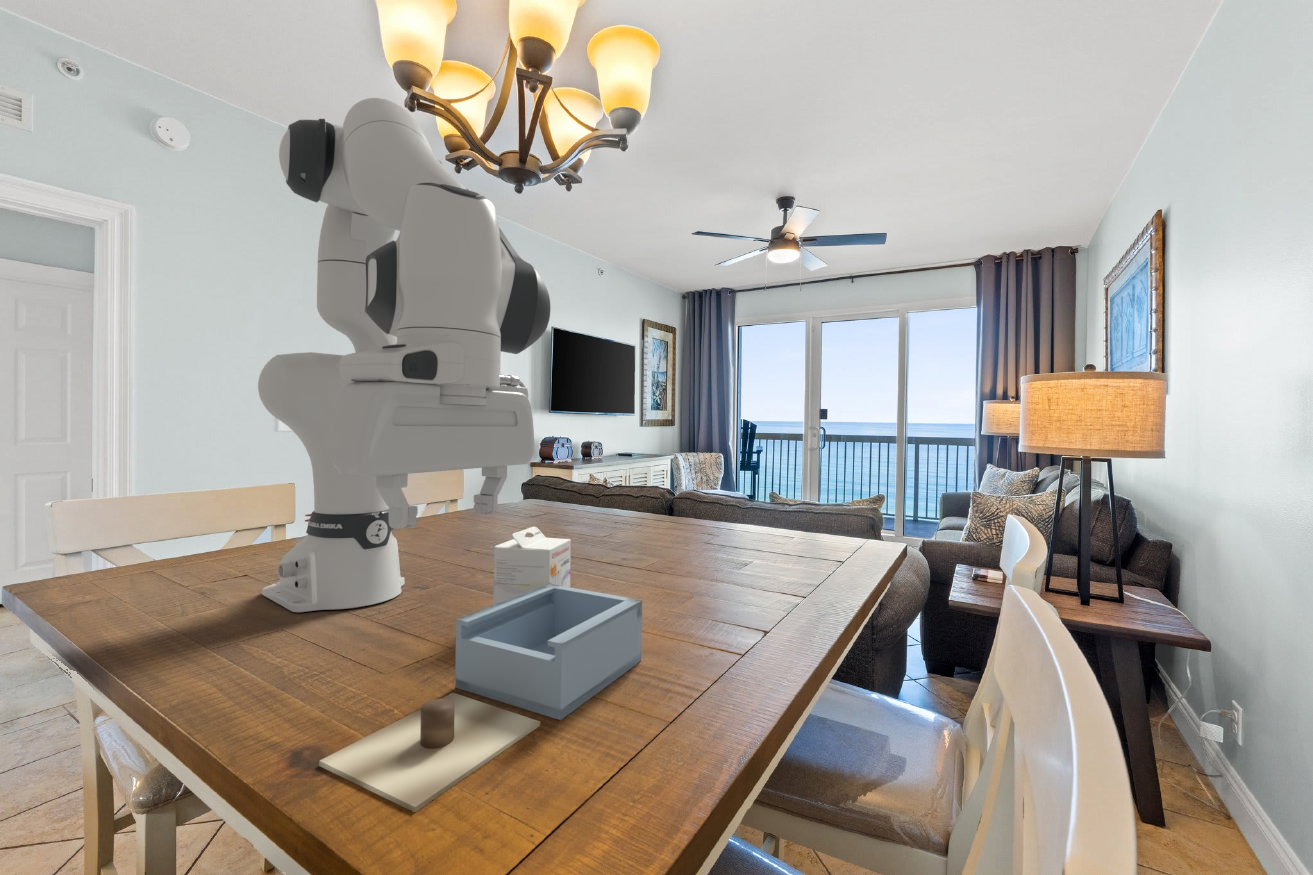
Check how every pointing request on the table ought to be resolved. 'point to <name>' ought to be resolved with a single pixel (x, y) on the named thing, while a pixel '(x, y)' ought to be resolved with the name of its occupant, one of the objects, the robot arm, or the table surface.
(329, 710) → the table surface
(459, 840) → the table surface
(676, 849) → the table surface
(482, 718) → the lid
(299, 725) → the table surface
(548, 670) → the box
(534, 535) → the ink box
